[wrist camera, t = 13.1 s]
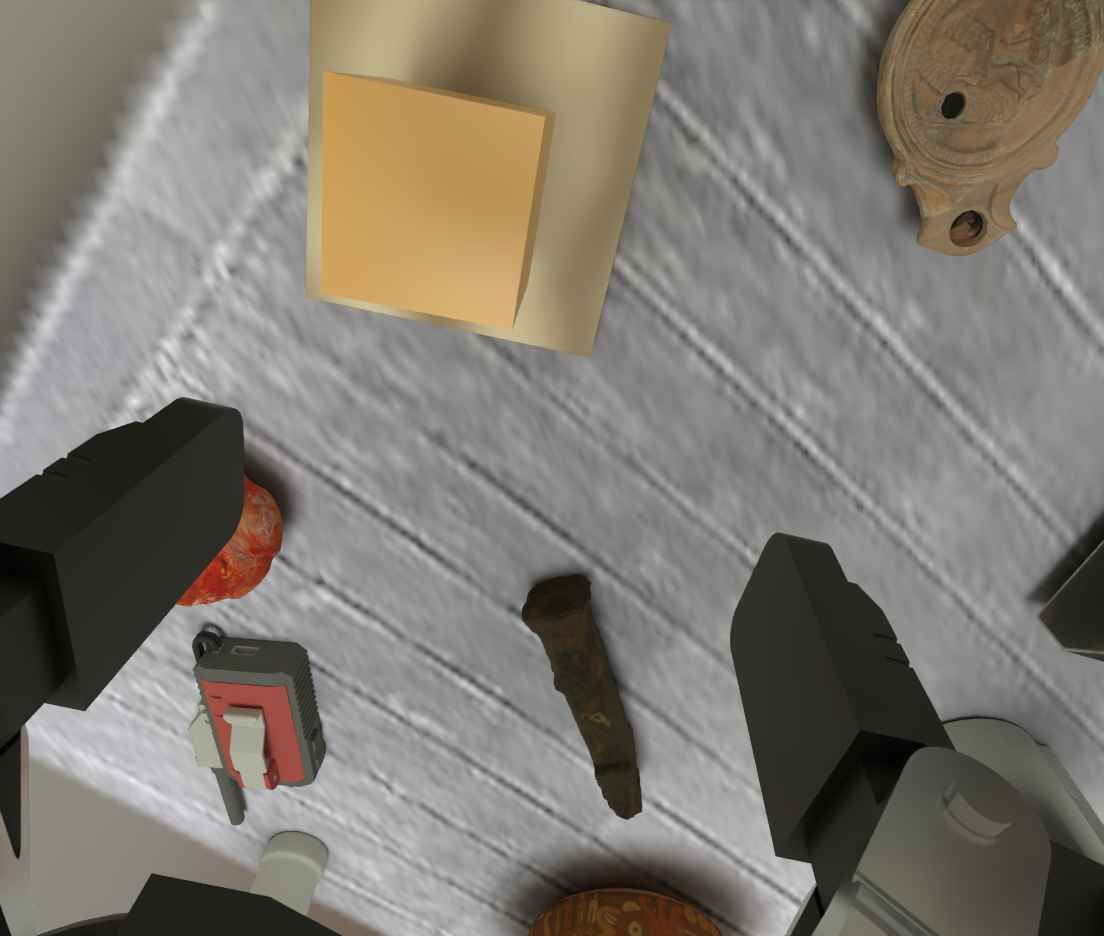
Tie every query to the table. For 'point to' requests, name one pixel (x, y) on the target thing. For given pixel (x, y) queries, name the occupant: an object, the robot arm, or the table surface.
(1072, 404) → the table surface
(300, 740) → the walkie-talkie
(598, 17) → the cream base with peg
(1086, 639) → the voltmeter
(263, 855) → the bottle
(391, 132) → the mustard yellow cube
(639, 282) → the table surface
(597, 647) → the hand tool
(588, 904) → the bowl
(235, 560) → the pomegranate
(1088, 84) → the oil lamp
